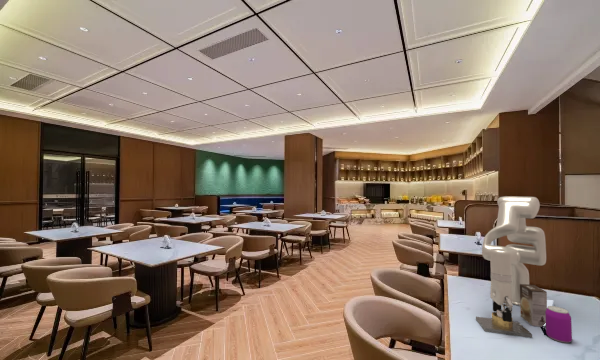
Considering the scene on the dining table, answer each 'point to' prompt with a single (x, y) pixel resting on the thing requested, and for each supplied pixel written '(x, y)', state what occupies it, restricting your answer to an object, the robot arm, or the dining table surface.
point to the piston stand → (490, 327)
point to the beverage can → (558, 324)
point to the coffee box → (533, 304)
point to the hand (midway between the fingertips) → (502, 316)
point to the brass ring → (501, 322)
